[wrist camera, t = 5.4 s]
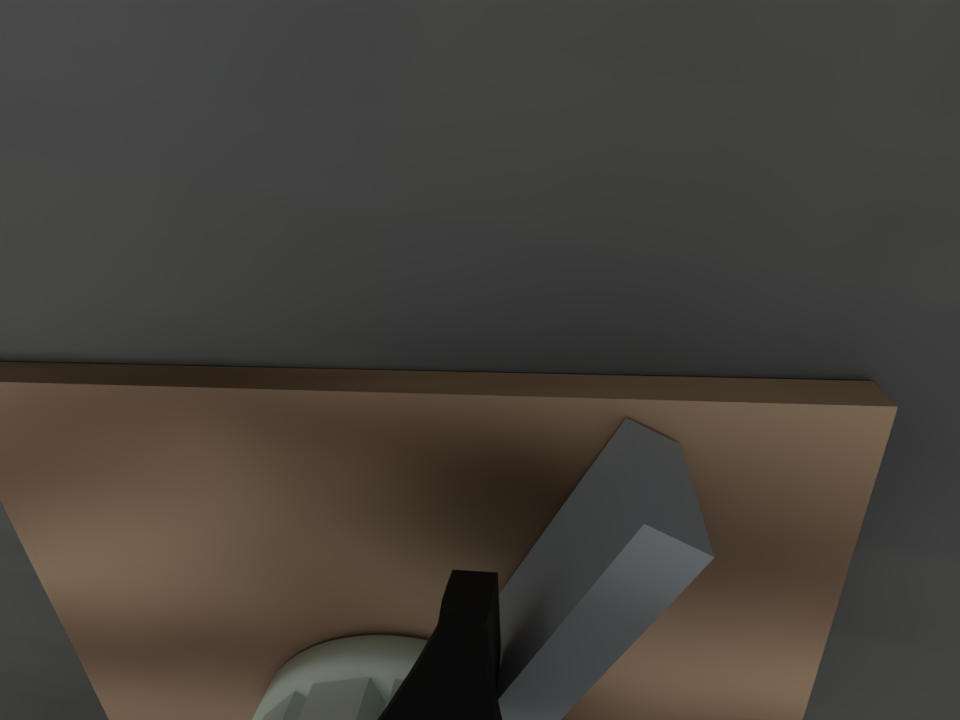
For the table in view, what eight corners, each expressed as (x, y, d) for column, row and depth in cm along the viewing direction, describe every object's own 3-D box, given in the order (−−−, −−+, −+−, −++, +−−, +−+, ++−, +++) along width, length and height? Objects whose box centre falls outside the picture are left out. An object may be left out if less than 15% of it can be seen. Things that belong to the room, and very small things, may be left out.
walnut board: (737, 867, 19) (745, 905, 18) (176, 793, 22) (160, 823, 21) (872, 380, 11) (897, 406, 11) (-20, 361, 14) (-60, 380, 13)
